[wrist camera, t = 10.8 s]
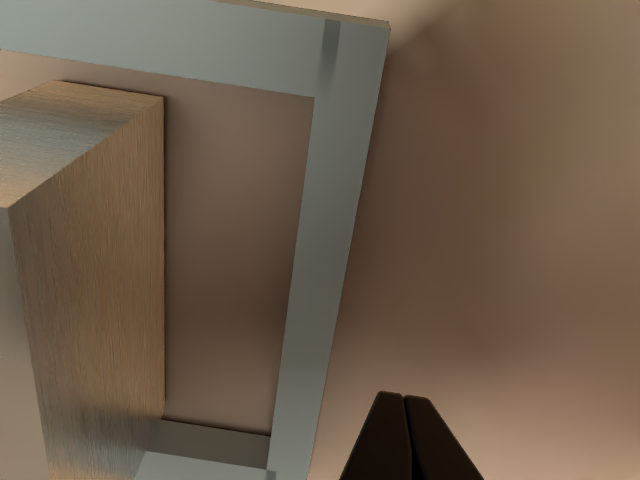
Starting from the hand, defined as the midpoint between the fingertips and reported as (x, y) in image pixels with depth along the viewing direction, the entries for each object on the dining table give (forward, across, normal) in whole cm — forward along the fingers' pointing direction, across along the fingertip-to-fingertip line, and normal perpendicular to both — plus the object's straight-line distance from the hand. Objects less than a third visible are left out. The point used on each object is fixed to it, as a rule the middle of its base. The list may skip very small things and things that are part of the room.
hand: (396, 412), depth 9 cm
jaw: (+3, +6, 0) cm, 7 cm away
